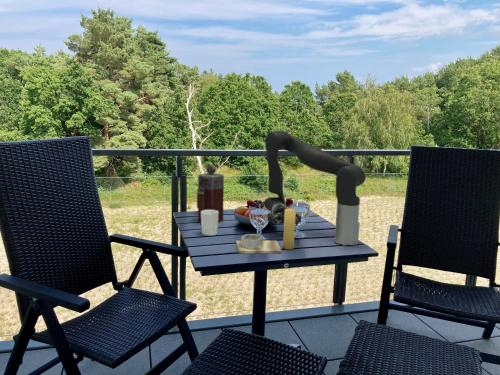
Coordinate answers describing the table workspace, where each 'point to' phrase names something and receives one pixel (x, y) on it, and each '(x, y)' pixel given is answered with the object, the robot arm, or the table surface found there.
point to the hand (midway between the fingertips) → (286, 222)
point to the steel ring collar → (252, 241)
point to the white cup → (209, 222)
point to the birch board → (268, 247)
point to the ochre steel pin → (289, 228)
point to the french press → (210, 192)
